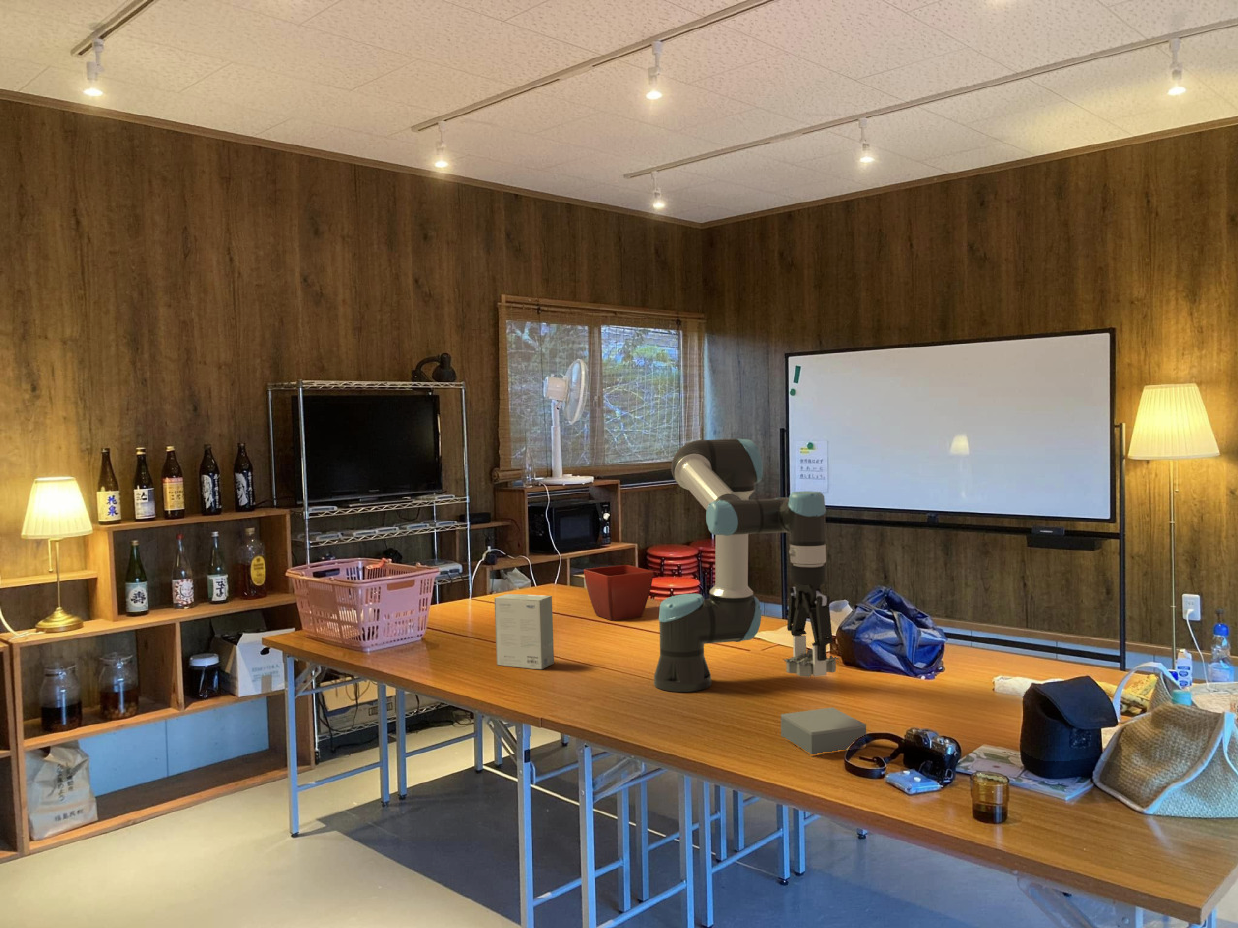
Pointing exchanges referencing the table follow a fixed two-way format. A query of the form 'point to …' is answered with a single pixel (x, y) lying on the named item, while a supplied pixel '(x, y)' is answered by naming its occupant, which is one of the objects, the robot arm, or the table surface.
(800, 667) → the egg carton
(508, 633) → the hard drive box
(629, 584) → the plant pot
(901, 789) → the table surface
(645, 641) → the table surface
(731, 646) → the table surface
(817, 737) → the plinth
